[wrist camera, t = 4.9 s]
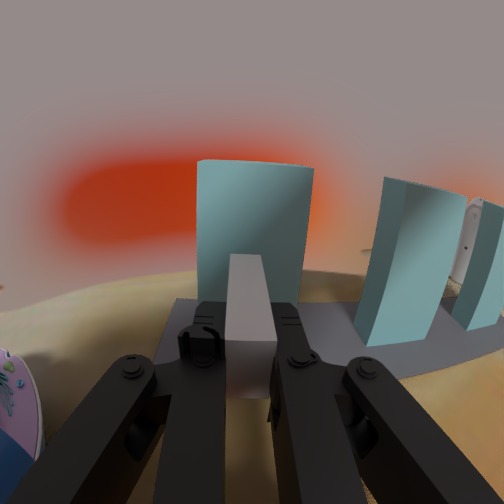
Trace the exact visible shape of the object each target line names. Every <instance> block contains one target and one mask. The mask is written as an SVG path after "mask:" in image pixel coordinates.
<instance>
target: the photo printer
mask: <svg viewBox="0 0 504 504" xmlns="http://www.w3.org/2000/svg"><path fill="white" fill-rule="evenodd" d="M483 200H484V201H487V200H486V199H482V198H481V197H476V198H474V199H472V200H471V201H470V202H469V204H468V205H467V206H466V210H465V215H464V220H463V225H462V229H461V234H460V238H459V242H458V246H457V250H456V254H455V257H454V261H453V264H452V268H451V271H450V274H449V276H450V277H451V279H452V280H453V281H455V282H457V283H459V284H461V285H462V283H463V281H464V278H465V274H466V271H467V268H468V265H469V262H470V258H471V255H472V251H473V247H474V243H475V239H476V235H477V231H478V227H479V222H480V217H481V212H482V206H483ZM487 202H488V201H487Z"/></svg>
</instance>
